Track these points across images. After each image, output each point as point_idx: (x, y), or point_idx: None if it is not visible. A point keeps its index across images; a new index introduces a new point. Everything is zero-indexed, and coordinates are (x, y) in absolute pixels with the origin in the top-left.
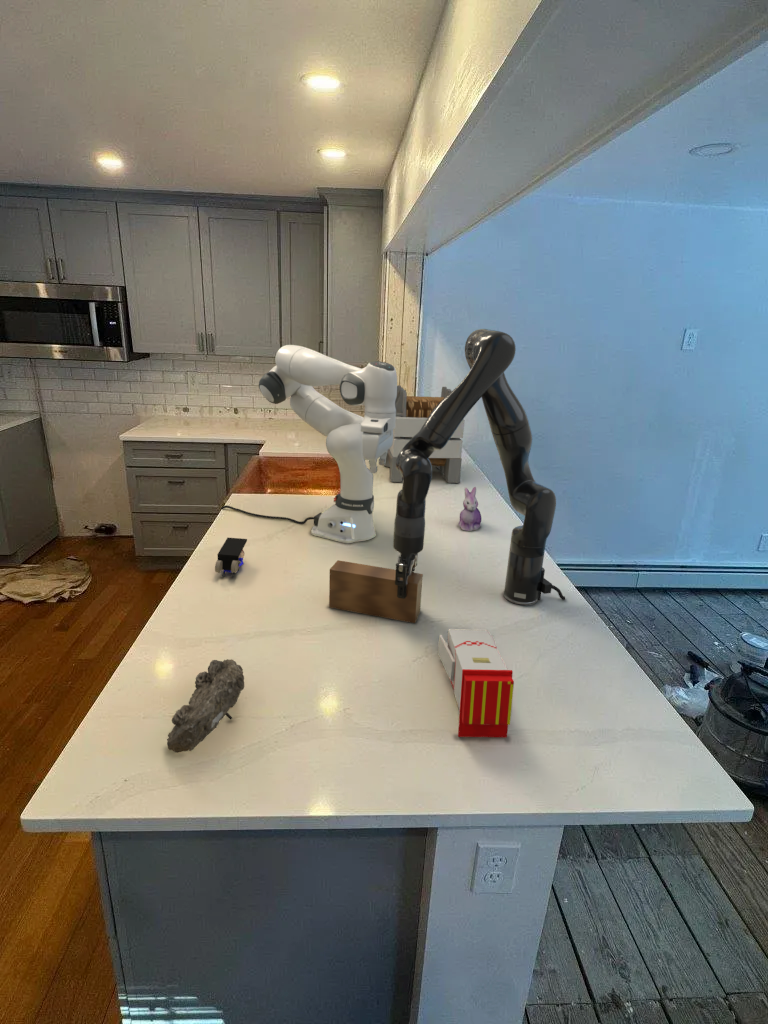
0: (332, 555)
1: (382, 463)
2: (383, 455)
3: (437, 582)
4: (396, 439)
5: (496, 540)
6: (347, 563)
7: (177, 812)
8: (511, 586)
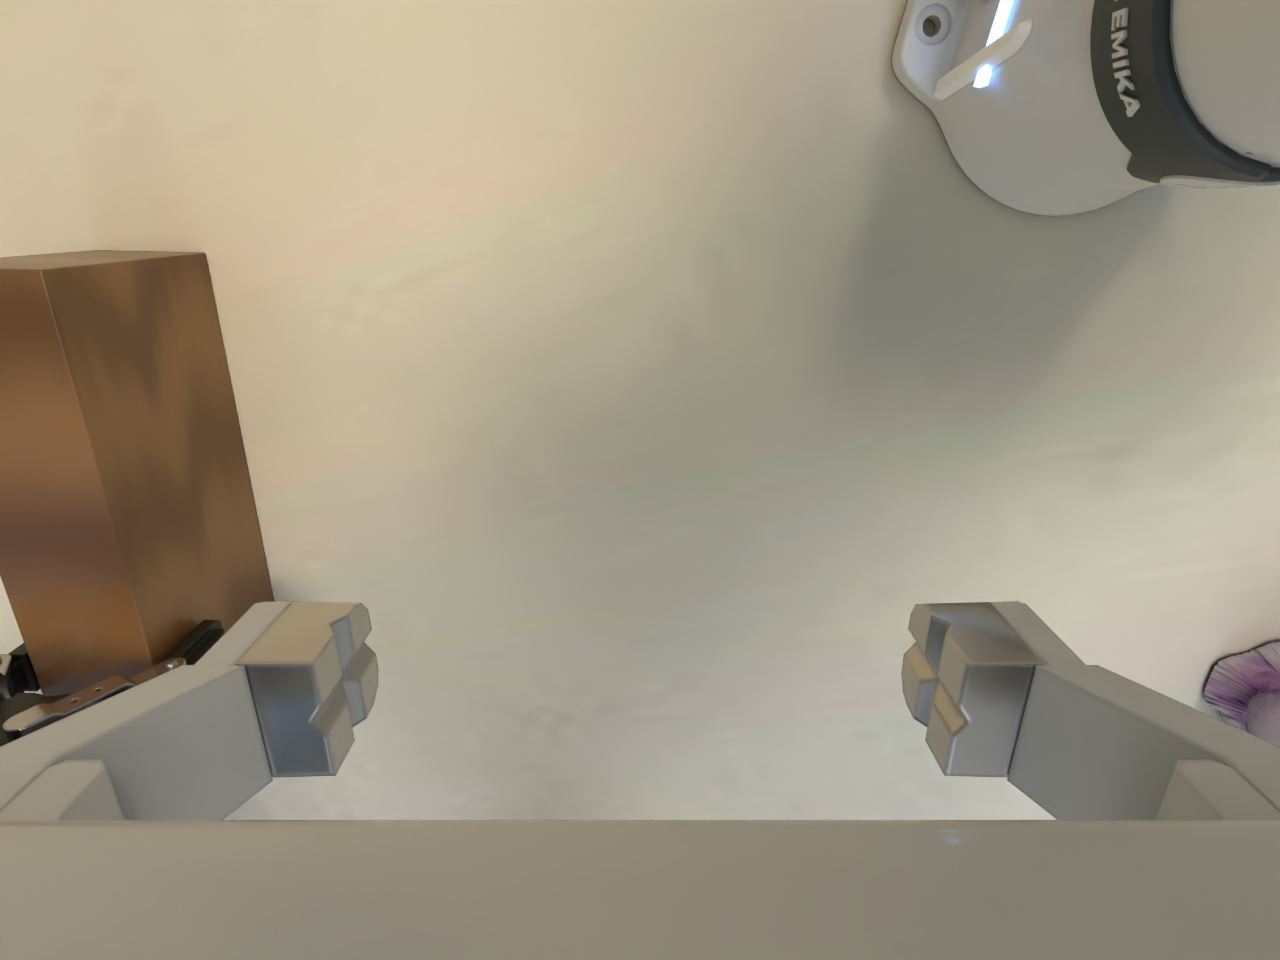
0: (681, 27)
1: (917, 683)
2: (1100, 791)
3: (559, 638)
4: None
5: None
6: (38, 348)
7: None
8: None
